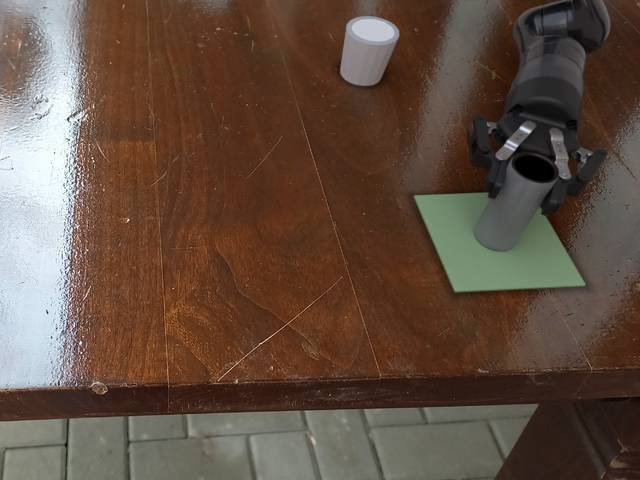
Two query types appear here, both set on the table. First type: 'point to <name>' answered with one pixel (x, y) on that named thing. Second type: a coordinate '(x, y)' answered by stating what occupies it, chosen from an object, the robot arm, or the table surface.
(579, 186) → the robot arm
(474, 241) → the cloth
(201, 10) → the table surface
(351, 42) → the white short cylinder
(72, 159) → the table surface
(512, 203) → the grey hollow cylinder
